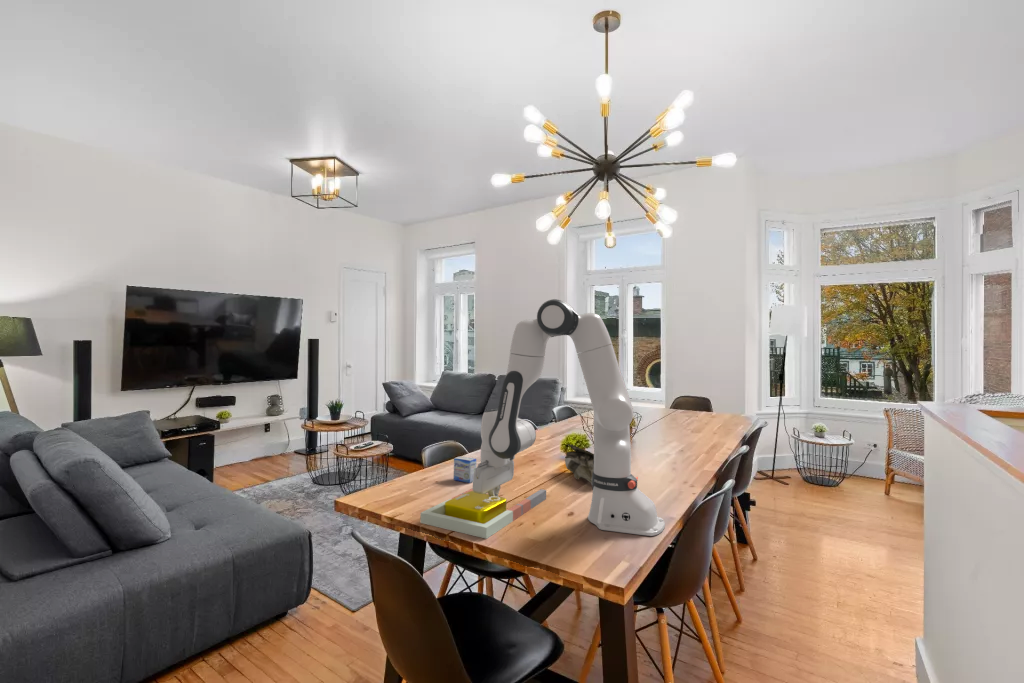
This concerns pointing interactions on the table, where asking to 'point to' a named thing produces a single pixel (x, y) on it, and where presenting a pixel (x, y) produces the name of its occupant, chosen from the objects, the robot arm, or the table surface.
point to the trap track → (439, 519)
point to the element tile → (475, 507)
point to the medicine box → (464, 469)
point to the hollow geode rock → (580, 463)
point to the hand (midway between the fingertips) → (493, 500)
